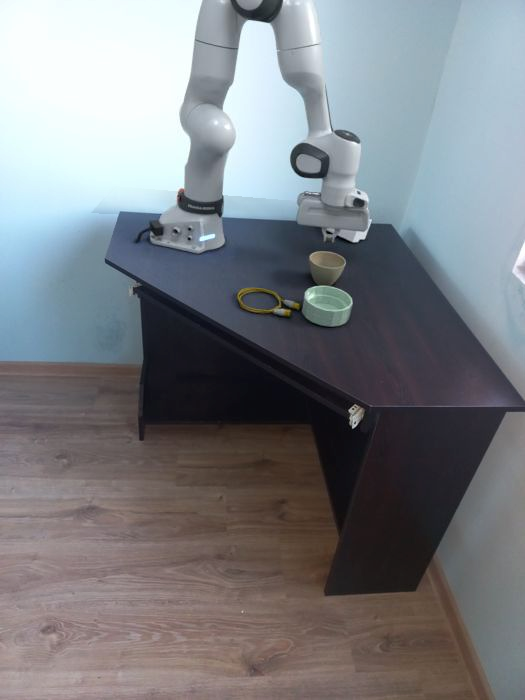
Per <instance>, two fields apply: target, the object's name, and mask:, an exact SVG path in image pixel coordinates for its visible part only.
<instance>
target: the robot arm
mask: <svg viewBox="0 0 525 700" xmlns="http://www.w3.org/2000/svg"><path fill="white" fill-rule="evenodd" d="M248 21H253V22H260V23H264V24H269V25H270V27H271V28H272V31H273V35H274V41H275V50H276V57H277V63H278V64H277V65H278V68H279V72H280V75H281V78H282V80H283V81H284V82H285V84H287V86H289V87H291V88H293V89H294V90H295V91H297V92H298V93H299V94H300V97H301V98H302V100H303V106H304V110H305V116H306V122H307V128H308V130H307V131H308V132H307V136H306V138H305V139H303V140H301V141H300V142H298V143H297V144H296V145H295V146H293V148H292V150H291V152H290V154H289V162H290V166H291V169H292V171H293V172H294V173H295V174H296V175H297V176H299V177H301V178H304V179H313V180H314V179H316V180H318V179H321V180H322V181H321V187H320V189H321V190H320V192H317V191H308V190H304V191H303V192H301V193H299V194H298V196H297V200H296V203H297V206H298V207H297V211H296V215H295V222H296V223H297V225H299V226H306V227H317V228H321V232H322V235H323V239H322V240H323V241H322V242H323V243H324V242H325V243H335V238H336V237H337V236H338V234H339V232H340V229H343V230H352V231H361V232H365V231H366V230H367V229H368V225H369V219H370V210H369V204H370V199H369V196H368V193H366V192H365V191H363V190H361V189H358V188H356V177H357V174H358V171H359V168H360V161H361V155H362V142H361V139H360V138H359V137H358V135H357V134H356V133H354V132H351V131H349V130H346V129H335V130H334V128H333V124H332V119H331V112H330V105H329V98H328V90H327V84H326V77H325V70H324V68H325V67H324V54H323V52H324V51H323V44H322V41H323V40H322V32H321V26H320V20H319V15H318V11H317V9H316V4H315V1H314V0H201V5H200V7H199V11H198V16H197V21H196V26H195V31H194V41H193V50H192V58H191V67H190V75H189V78H188V82H187V86H186V90H185V93H184V98H183V102H182V103H181V105H180V107H179V111H178V116H179V122H180V126H181V127H182V130H183V131H184V133H185V134H186V135H187V136H188V137H189V142H190V145H189V152H188V158H187V161H186V163H185V165H184V177H183V178H184V181H183V183H184V185H183V187H184V188H179V189H178V191H177V196H176V204H174V205H173V206H172V207H170V208H168V209H166V210H164V212H163V213H162V214H161V215H160V216H159V219H152V220H149V226H148V227H146V228H144V229H142V230H140V231H139V233H138V234H137V238H135V239H134V241H135V243H139V242H140V241H141V239H142V236H143V235H144V234H145V233H149V232H150V233H149V241H150V242H151V244H152V245H157V246H161V247H165V248H170V249H175V250H180V251H183V252H189V253H193V254H201V253H204V252H206V251H211V250H212V251H213V250H216V249H219V248H221V247H223V245H225V243H226V239H225V233H224V228H223V214H224V209H225V207H224V206H225V197H224V195H223V193H224V180H225V179H224V178H225V170H226V164H227V162H228V156H229V153H230V151H231V150H232V149H233V146H234V145H235V143H236V138H237V133H236V129H235V125H234V123H233V121H232V120H231V118H230V116H229V115H228V114H227V113H226V112H225V111H224V103H225V100H226V97H227V95H228V93H229V90H230V89H231V86H233V84H234V81H235V77H236V76H235V75H236V69H237V61H238V54H239V48H240V40H241V35H242V30H243V27H244V25H245V24H246V23H247V22H248ZM327 228H333V229H335V232H334V233H331V234H330V233H329V234H328V233H327V232H328V231H327ZM368 230H369V229H368Z"/></svg>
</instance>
